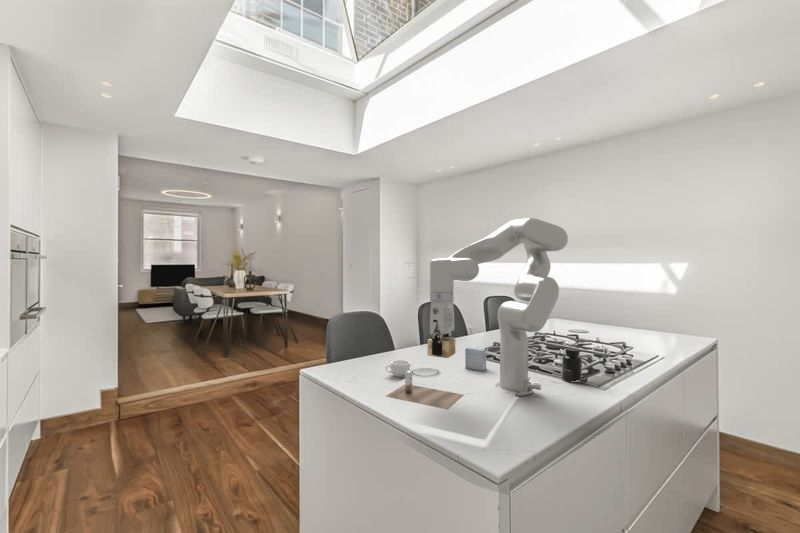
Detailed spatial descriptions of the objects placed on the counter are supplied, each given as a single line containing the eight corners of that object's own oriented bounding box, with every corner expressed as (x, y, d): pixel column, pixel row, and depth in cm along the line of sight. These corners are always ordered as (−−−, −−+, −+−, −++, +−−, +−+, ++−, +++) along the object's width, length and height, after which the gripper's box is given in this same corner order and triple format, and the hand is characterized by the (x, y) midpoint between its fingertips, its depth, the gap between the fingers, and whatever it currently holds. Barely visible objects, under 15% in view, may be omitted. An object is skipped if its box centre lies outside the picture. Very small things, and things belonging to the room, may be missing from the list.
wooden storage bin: (455, 353, 121) (455, 338, 121) (447, 358, 115) (447, 342, 115) (436, 350, 125) (436, 335, 125) (427, 355, 119) (427, 339, 119)
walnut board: (463, 399, 124) (463, 394, 124) (447, 414, 112) (447, 409, 112) (405, 387, 135) (405, 383, 135) (385, 400, 122) (385, 396, 122)
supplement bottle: (562, 381, 142) (562, 350, 141) (561, 376, 148) (562, 346, 148) (582, 384, 139) (582, 352, 139) (580, 378, 145) (581, 348, 145)
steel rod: (413, 391, 127) (413, 370, 126) (410, 393, 124) (410, 372, 124) (407, 390, 128) (407, 369, 128) (403, 392, 126) (403, 371, 126)
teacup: (407, 372, 154) (407, 359, 154) (412, 377, 146) (412, 364, 146) (383, 374, 151) (383, 360, 151) (387, 379, 144) (387, 365, 144)
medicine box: (486, 368, 159) (486, 348, 159) (482, 371, 155) (482, 350, 155) (469, 365, 163) (469, 346, 163) (465, 368, 159) (465, 348, 159)
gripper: (442, 300, 110) (442, 360, 111) (462, 295, 125) (462, 348, 126) (419, 299, 114) (419, 357, 114) (441, 294, 129) (441, 345, 129)
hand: (441, 352), depth 120 cm, fingers closed on wooden storage bin, 6 cm apart
